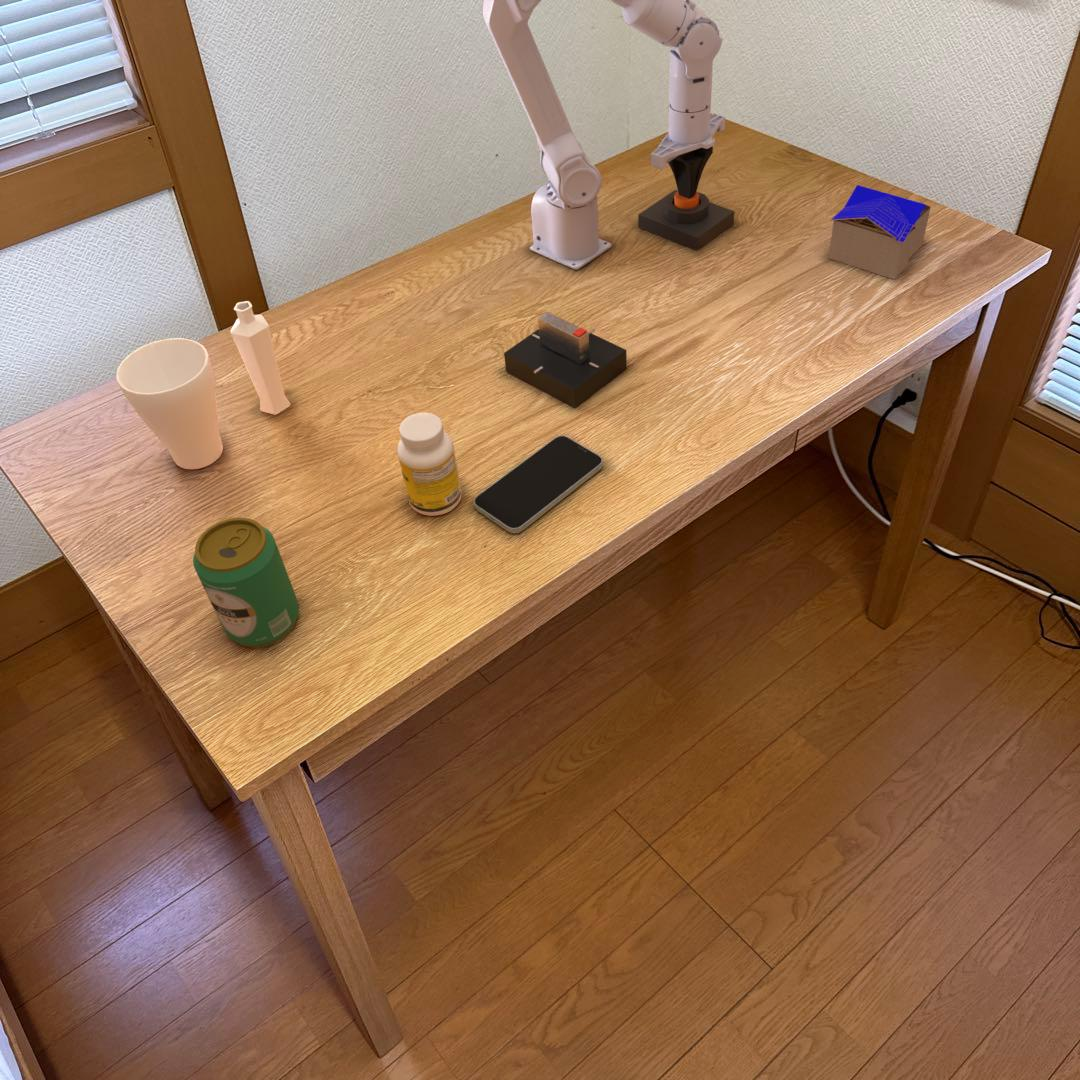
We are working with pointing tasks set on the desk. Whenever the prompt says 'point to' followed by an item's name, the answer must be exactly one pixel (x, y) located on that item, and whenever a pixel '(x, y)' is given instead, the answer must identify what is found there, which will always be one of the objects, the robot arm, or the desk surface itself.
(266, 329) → the perfume bottle
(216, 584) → the beverage can
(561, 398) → the panel
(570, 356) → the tap handle
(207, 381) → the cup
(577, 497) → the desk surface
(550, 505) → the smartphone
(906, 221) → the house
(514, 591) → the desk surface
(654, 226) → the button block
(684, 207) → the button
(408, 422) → the pill bottle
